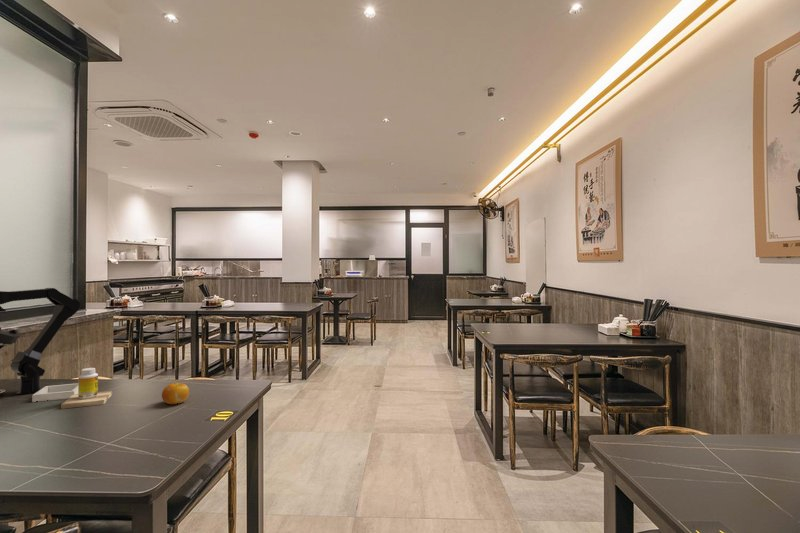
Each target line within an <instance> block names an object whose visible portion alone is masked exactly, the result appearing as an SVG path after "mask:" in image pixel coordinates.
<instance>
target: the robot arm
mask: <svg viewBox="0 0 800 533" xmlns="http://www.w3.org/2000/svg"><path fill="white" fill-rule="evenodd" d="M36 299H47V300H48V301H49V302H51V304H53V305H54V309H53V311H52V315H51V318H50V319H49V321H48V322H47V323H46V324H45V325H44V327H43V329H42V330H41V331H40V332H39V334H38V335H37V336H36V338H35V339H34V340H33V342H32V343H31V344H30V346H29V347H28V348H27V349H26V350H24V351H17V353H16V354H15V357H13V359H11V360H10V362H11V363H10V368H11V371H12V372H14V373H16V374H17V376H18V377H20V378H19V380H20V382H19V383H20V384H19V391H18V392H16V393H15V395H25V394H35V393H36V392H38V391H39V390H41V389H42V388H44V387H45V386H41V377H43V376H44V374H45V372H46V370H45V369H44V368H42V367H41V366H40V365H39V364H40V362H41V359H42V356H43V355H42V354H43V352H44V351H45V349H47V347H48V345H49V344H50V343H51V341H52V340H53V338H54V337H55V336H56V334H57V333H58V332H59V330H60V329H61V328H62V327H63V324H65V322H66V321H67V320H68V319H70V318H72V317H73V316H74V315H75V314H76V313H77V312H78V311H79V310H80V309H81V302H80V301H79V300H78V299H75V298H71V297H70V296H68V295H66V294H65V293H63V292H61V291H59V289H57V288H54V287H45V288H40V289H39V288H37V289H26V290H25V289H24V290H11V291H4V290H0V313H1V312H2V313H3V312H7V310H6V309H5V308H3V307H2V306H1V305H5V304H7V303H10V302H19V301H26V300H27V301H28V300H36ZM18 339H20V333H19V330H17V329H11V330H9V331H8V330H7V331H5V330H2V327H1V326H0V351H1V350H2V349H3V348H5V347H7V345H13V344H16V342H17V341H18Z"/></svg>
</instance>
